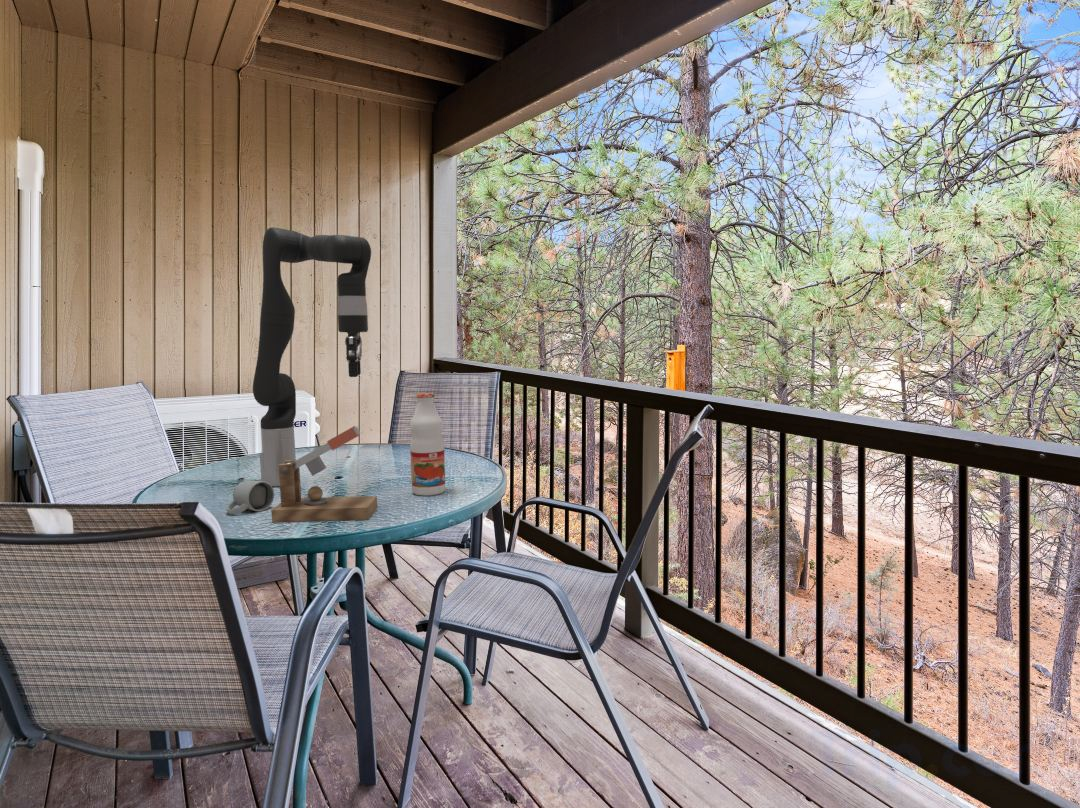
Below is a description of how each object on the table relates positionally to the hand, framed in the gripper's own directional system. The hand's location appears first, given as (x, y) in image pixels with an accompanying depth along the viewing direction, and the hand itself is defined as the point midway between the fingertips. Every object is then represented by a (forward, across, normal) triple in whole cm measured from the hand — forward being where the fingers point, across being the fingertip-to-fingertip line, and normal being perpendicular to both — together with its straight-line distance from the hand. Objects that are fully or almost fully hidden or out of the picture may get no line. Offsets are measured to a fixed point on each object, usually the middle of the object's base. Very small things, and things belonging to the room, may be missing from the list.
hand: (354, 375), depth 176 cm
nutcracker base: (+34, -12, +7) cm, 37 cm away
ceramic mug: (+34, -3, +27) cm, 44 cm away
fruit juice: (+34, +5, -19) cm, 39 cm away
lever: (+21, -13, +6) cm, 25 cm away
